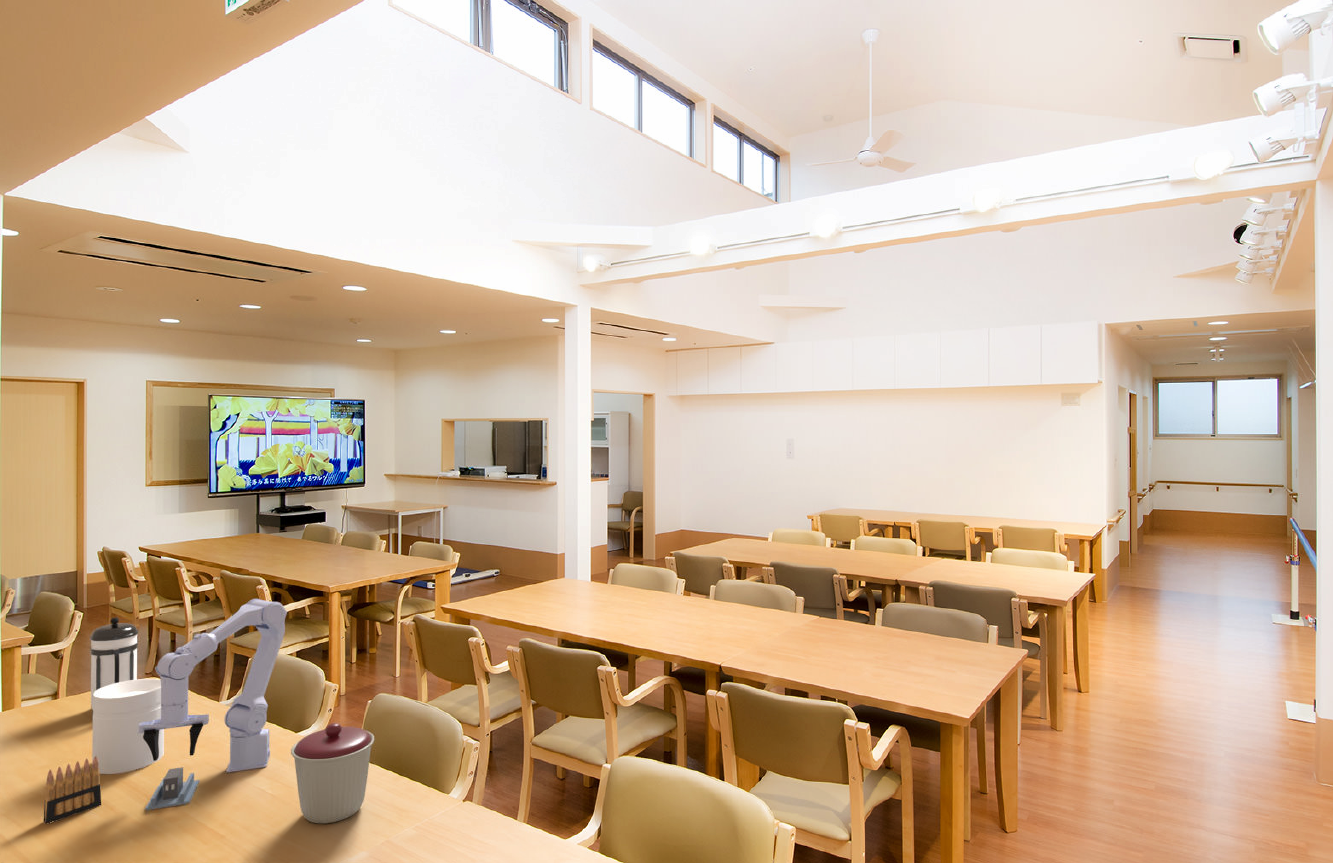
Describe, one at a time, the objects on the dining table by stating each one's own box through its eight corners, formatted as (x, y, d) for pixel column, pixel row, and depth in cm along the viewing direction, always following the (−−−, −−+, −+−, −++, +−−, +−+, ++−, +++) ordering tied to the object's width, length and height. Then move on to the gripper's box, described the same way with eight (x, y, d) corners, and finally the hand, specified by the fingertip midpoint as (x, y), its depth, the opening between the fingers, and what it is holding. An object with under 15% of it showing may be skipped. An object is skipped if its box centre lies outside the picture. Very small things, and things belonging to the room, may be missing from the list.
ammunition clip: (46, 824, 170) (46, 772, 170) (43, 822, 171) (43, 770, 171) (101, 805, 179) (101, 755, 179) (98, 803, 180) (98, 753, 180)
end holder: (199, 782, 190) (199, 772, 190) (189, 803, 179) (189, 792, 179) (158, 788, 187) (158, 778, 187) (145, 810, 176) (145, 799, 176)
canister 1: (94, 780, 192) (95, 703, 192) (90, 759, 204) (90, 687, 204) (168, 762, 202) (168, 689, 202) (159, 743, 214) (160, 675, 214)
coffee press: (69, 717, 234) (70, 622, 234) (114, 699, 250) (115, 611, 250) (116, 721, 231) (117, 625, 232) (159, 703, 247) (160, 613, 247)
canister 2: (323, 841, 163) (324, 745, 163) (273, 820, 172) (274, 729, 172) (390, 805, 179) (390, 718, 179) (341, 788, 187) (341, 705, 188)
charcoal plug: (183, 787, 187) (183, 767, 187) (176, 799, 180) (177, 778, 180) (169, 789, 185) (169, 769, 185) (162, 801, 179) (162, 780, 179)
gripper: (135, 711, 178) (135, 768, 178) (205, 703, 183) (205, 758, 183) (143, 702, 184) (142, 756, 184) (210, 694, 190) (210, 747, 190)
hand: (174, 756), depth 184 cm, fingers open, 7 cm apart
